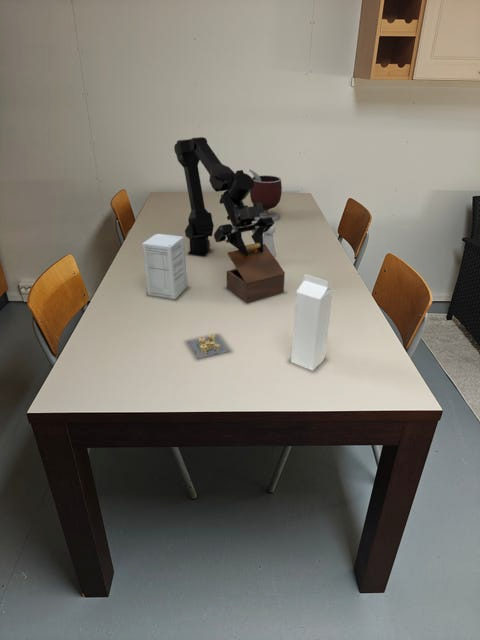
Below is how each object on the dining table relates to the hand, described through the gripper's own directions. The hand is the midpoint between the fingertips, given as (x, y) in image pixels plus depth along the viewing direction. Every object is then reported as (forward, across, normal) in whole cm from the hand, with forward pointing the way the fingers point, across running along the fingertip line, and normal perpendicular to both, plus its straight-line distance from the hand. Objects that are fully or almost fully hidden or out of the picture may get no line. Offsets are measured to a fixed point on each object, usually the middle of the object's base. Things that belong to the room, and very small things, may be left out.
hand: (254, 254), depth 137 cm
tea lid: (+3, 0, +2) cm, 3 cm away
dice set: (+23, -28, -6) cm, 37 cm away
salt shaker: (-3, +17, +20) cm, 26 cm away
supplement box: (-1, -23, +18) cm, 29 cm away
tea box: (+9, 0, +8) cm, 12 cm away
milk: (+36, -10, -18) cm, 42 cm away
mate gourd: (-34, +45, +50) cm, 75 cm away
